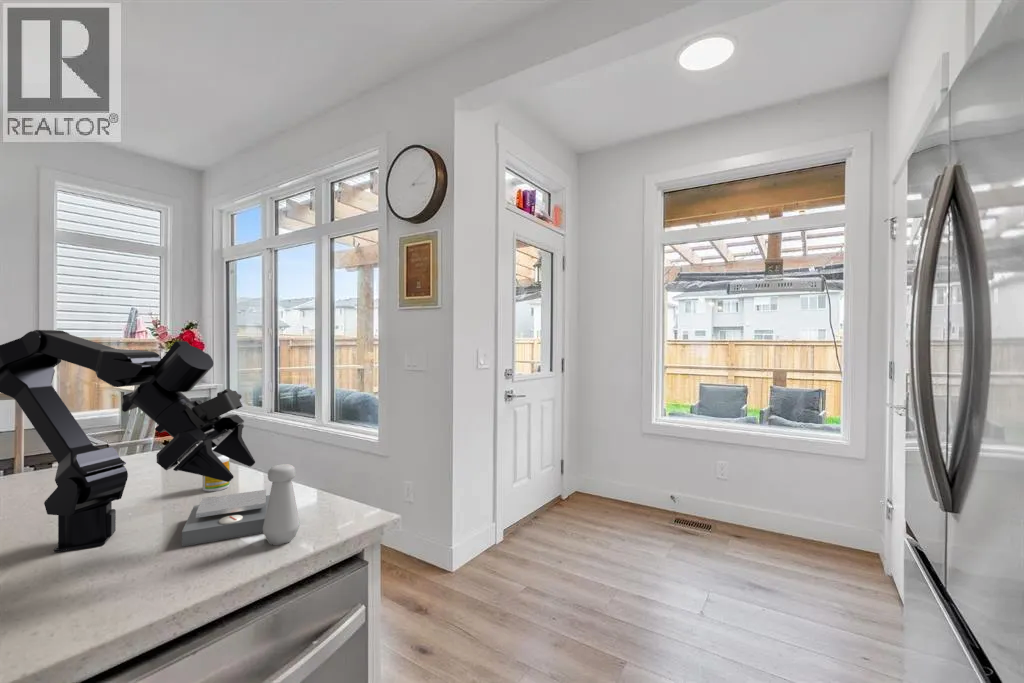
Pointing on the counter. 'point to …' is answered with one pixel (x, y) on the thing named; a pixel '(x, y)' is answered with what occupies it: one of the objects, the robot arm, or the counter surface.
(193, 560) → the counter surface
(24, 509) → the counter surface
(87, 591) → the counter surface
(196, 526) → the scale
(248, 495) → the scale pan
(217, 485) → the supplement bottle
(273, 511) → the salt shaker
